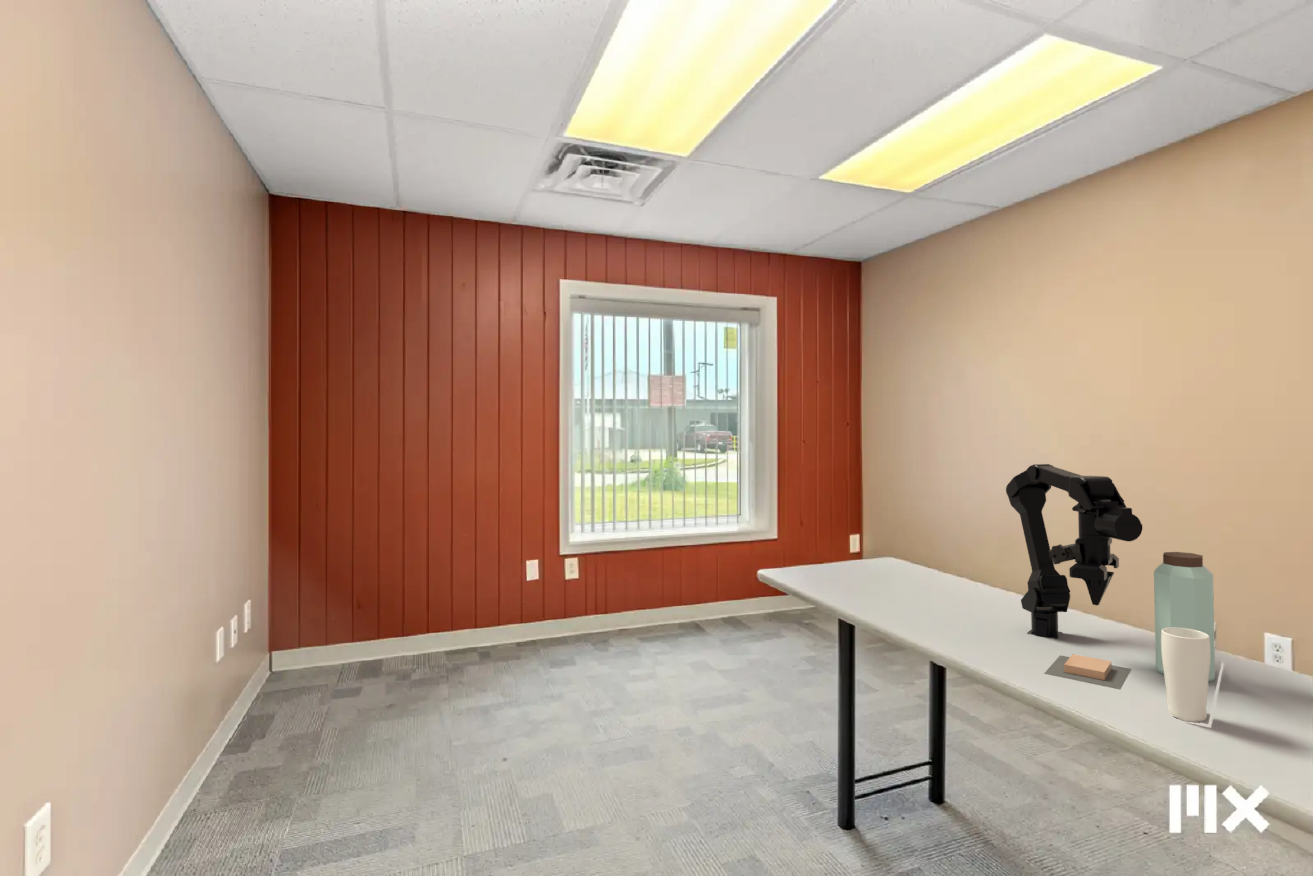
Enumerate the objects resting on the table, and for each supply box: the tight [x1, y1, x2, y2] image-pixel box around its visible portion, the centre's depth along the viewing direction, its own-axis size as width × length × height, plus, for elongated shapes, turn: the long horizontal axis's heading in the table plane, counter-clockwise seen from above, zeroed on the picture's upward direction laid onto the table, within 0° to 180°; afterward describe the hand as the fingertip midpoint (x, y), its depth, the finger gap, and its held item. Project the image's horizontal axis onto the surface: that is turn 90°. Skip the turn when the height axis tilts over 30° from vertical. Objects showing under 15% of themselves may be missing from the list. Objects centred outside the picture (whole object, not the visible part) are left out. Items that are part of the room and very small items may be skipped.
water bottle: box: [1153, 551, 1216, 682], centre depth 133 cm, size 10×10×25 cm
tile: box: [1064, 653, 1113, 680], centre depth 136 cm, size 2×7×8 cm
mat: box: [1043, 654, 1132, 690], centre depth 136 cm, size 14×13×1 cm
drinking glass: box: [1161, 627, 1211, 723], centre depth 115 cm, size 7×7×15 cm
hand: (1095, 604), depth 142 cm, fingers closed
